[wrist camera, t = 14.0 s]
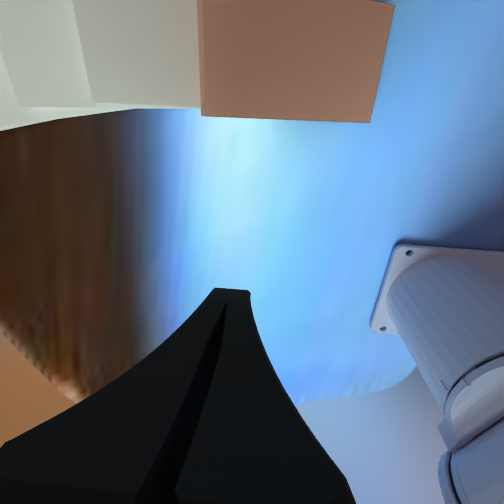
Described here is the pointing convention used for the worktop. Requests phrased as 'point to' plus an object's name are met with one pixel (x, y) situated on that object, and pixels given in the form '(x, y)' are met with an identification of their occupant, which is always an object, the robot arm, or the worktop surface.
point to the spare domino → (291, 58)
